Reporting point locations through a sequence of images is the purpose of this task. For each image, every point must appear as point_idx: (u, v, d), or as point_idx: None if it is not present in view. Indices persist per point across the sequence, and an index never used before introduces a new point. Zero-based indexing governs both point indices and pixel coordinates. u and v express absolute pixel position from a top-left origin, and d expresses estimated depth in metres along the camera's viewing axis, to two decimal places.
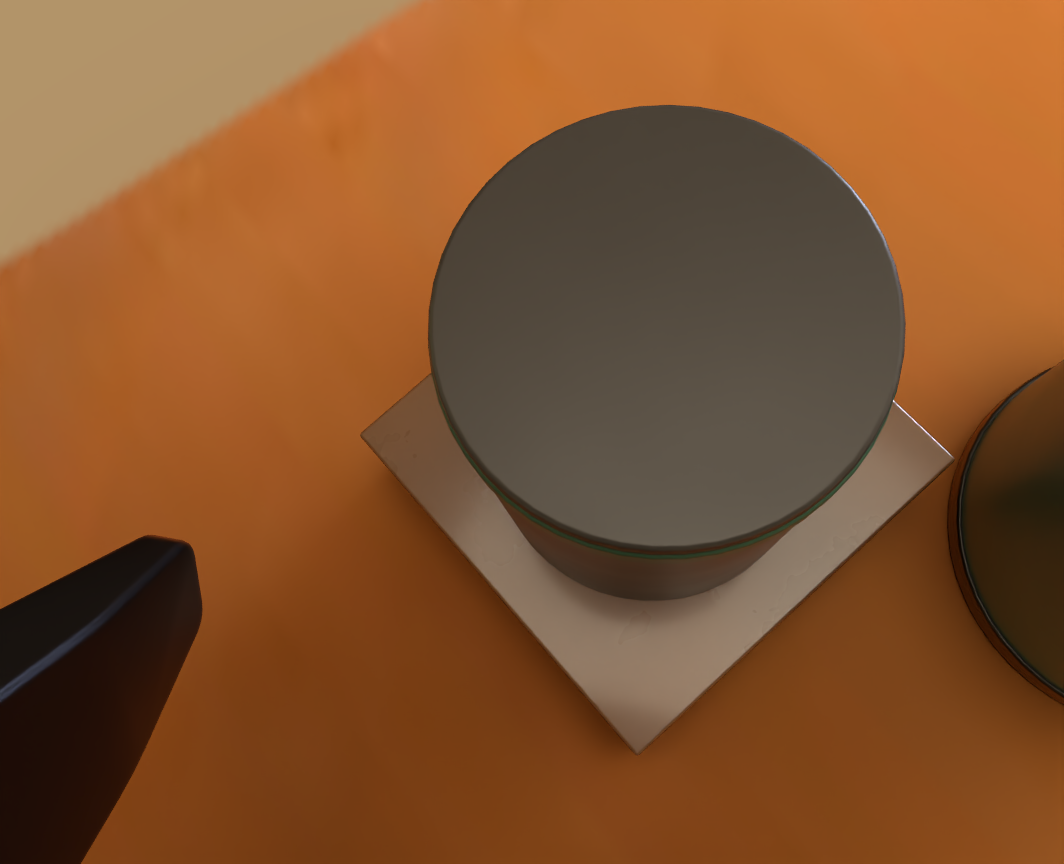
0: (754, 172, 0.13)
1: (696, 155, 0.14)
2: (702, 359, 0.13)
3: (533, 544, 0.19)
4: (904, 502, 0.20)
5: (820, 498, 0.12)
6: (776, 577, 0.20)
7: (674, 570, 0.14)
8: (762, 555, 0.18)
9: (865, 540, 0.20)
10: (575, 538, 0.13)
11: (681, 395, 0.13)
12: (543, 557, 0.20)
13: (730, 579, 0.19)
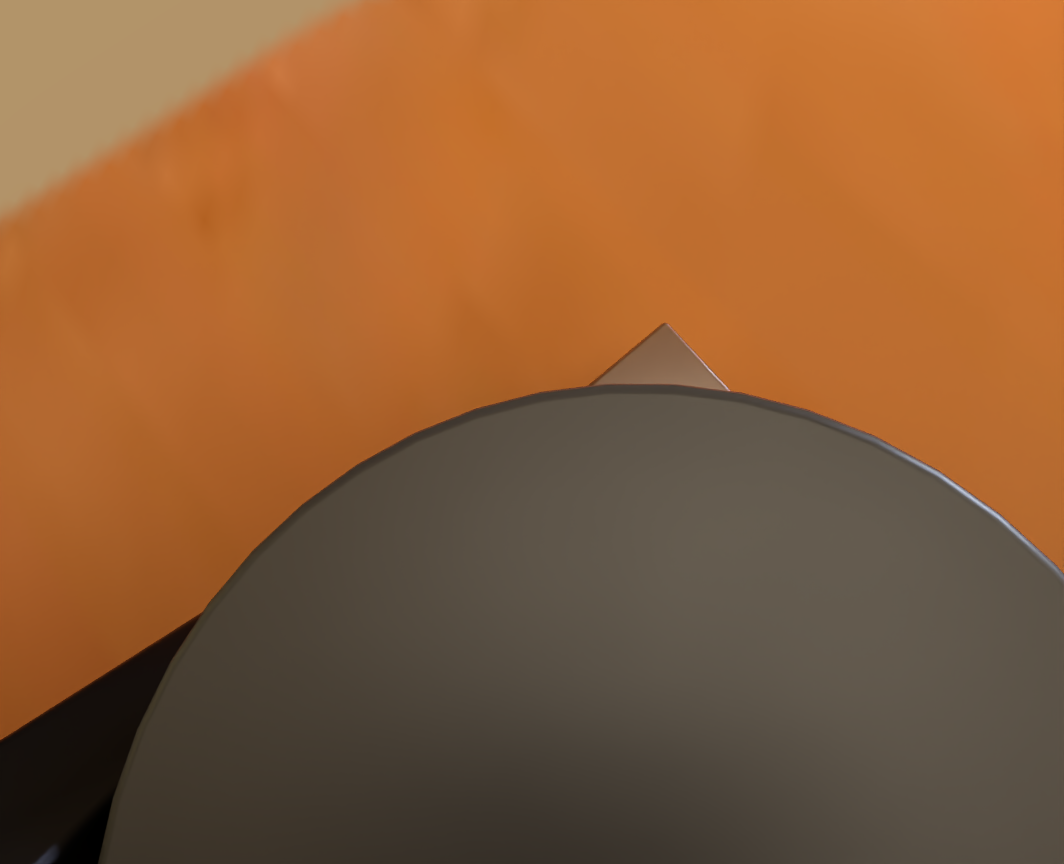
0: (871, 573, 0.06)
1: (735, 519, 0.06)
2: None
3: None
4: None
5: None
6: None
7: None
8: None
9: None
10: None
11: None
12: None
13: None
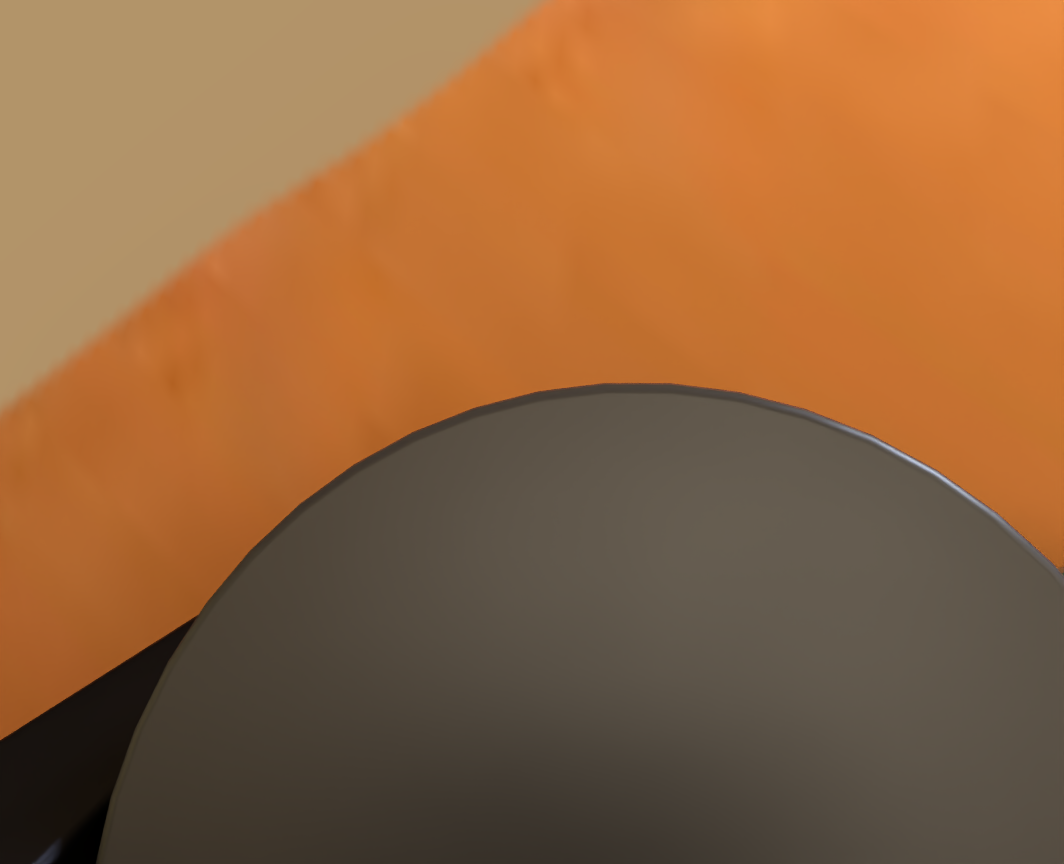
0: (868, 572, 0.06)
1: (731, 517, 0.06)
2: None
3: None
4: None
5: None
6: None
7: None
8: None
9: None
10: None
11: None
12: None
13: None
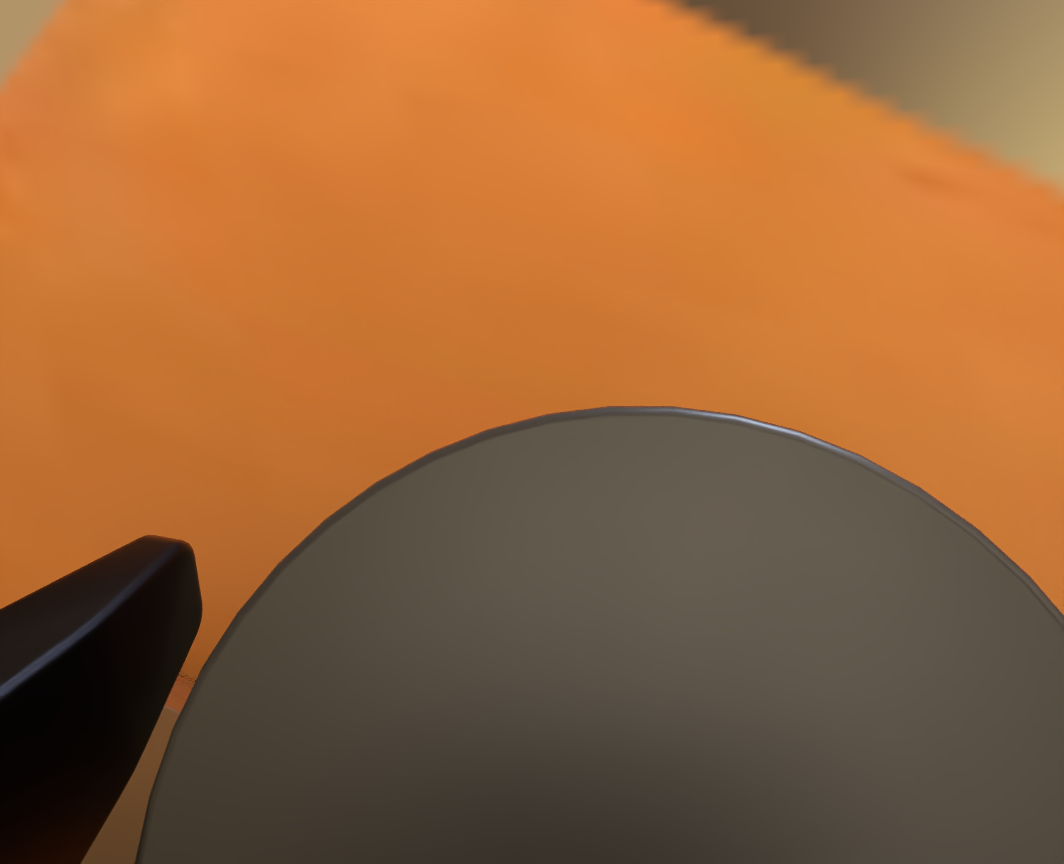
0: (857, 584, 0.06)
1: (730, 534, 0.06)
2: None
3: None
4: None
5: None
6: None
7: None
8: None
9: None
10: None
11: None
12: None
13: None
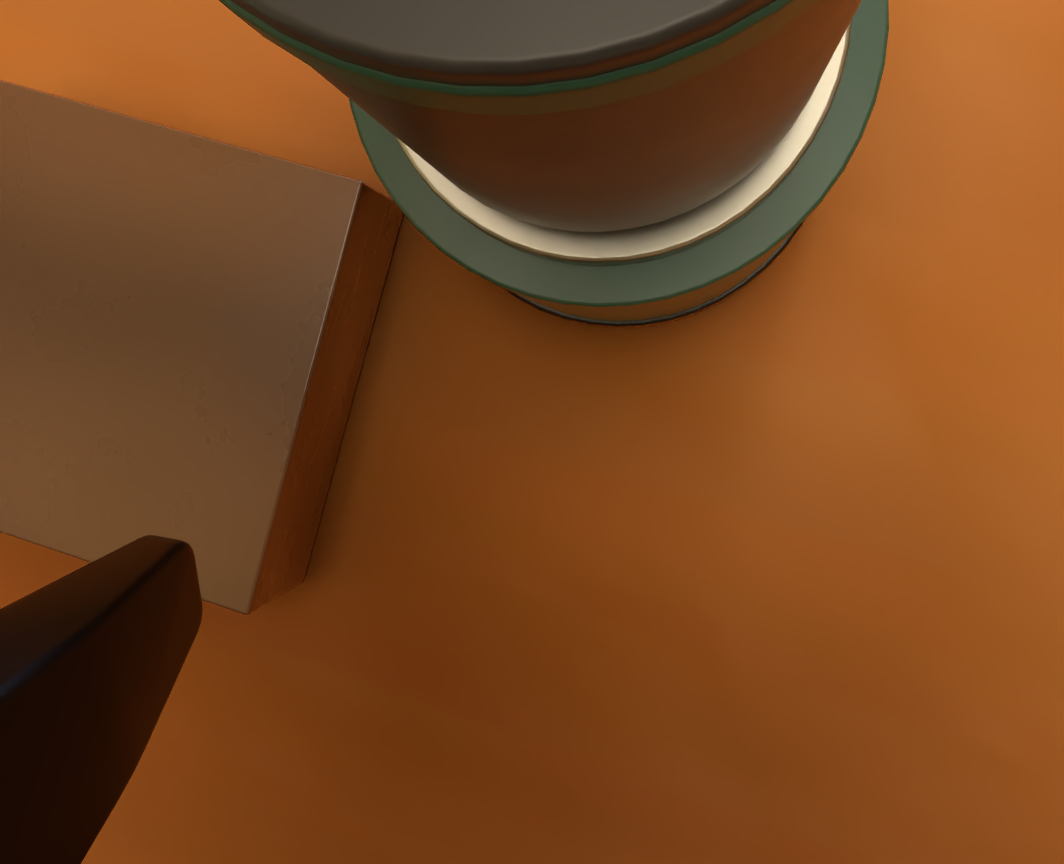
0: None
1: None
2: None
3: None
4: (339, 253, 0.19)
5: None
6: (271, 391, 0.19)
7: (600, 141, 0.08)
8: (773, 140, 0.12)
9: (325, 310, 0.19)
10: (371, 69, 0.06)
11: None
12: None
13: (727, 187, 0.13)
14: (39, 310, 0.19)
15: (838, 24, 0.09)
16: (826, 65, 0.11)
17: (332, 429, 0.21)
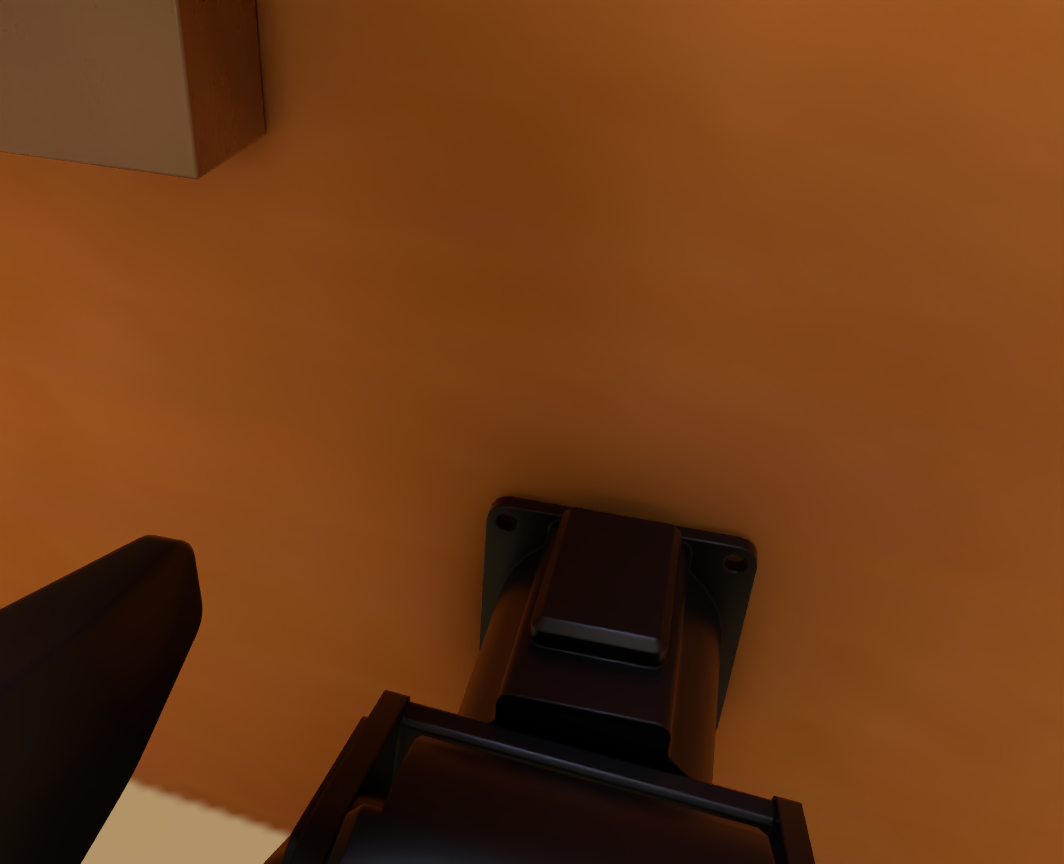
0: None
1: None
2: None
3: None
4: None
5: None
6: None
7: None
8: None
9: None
10: None
11: None
12: None
13: None
14: None
15: None
16: None
17: None
